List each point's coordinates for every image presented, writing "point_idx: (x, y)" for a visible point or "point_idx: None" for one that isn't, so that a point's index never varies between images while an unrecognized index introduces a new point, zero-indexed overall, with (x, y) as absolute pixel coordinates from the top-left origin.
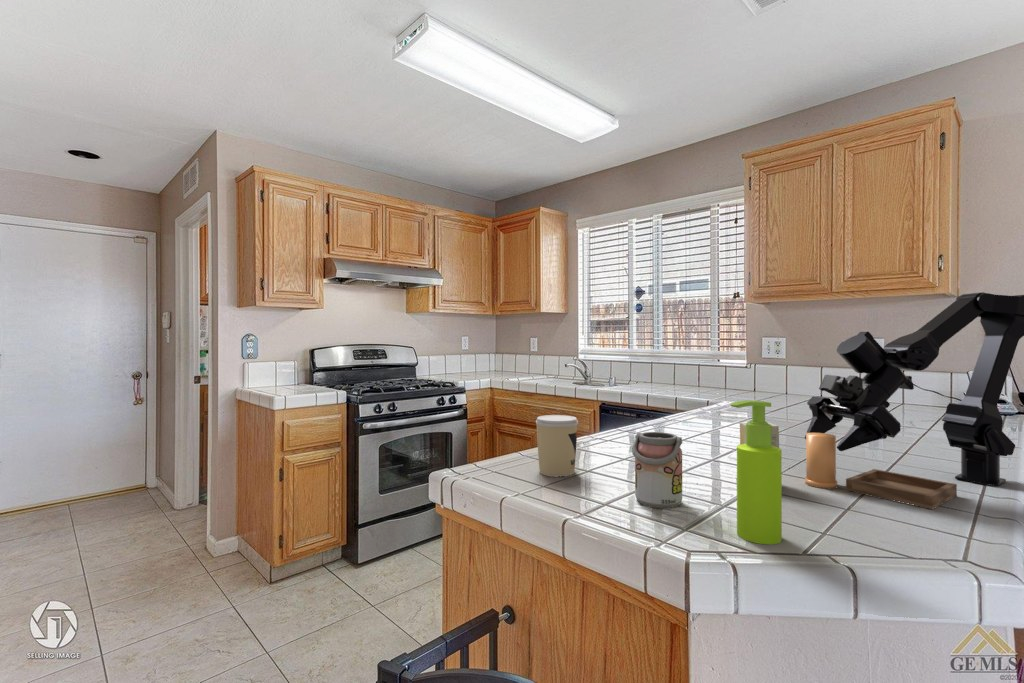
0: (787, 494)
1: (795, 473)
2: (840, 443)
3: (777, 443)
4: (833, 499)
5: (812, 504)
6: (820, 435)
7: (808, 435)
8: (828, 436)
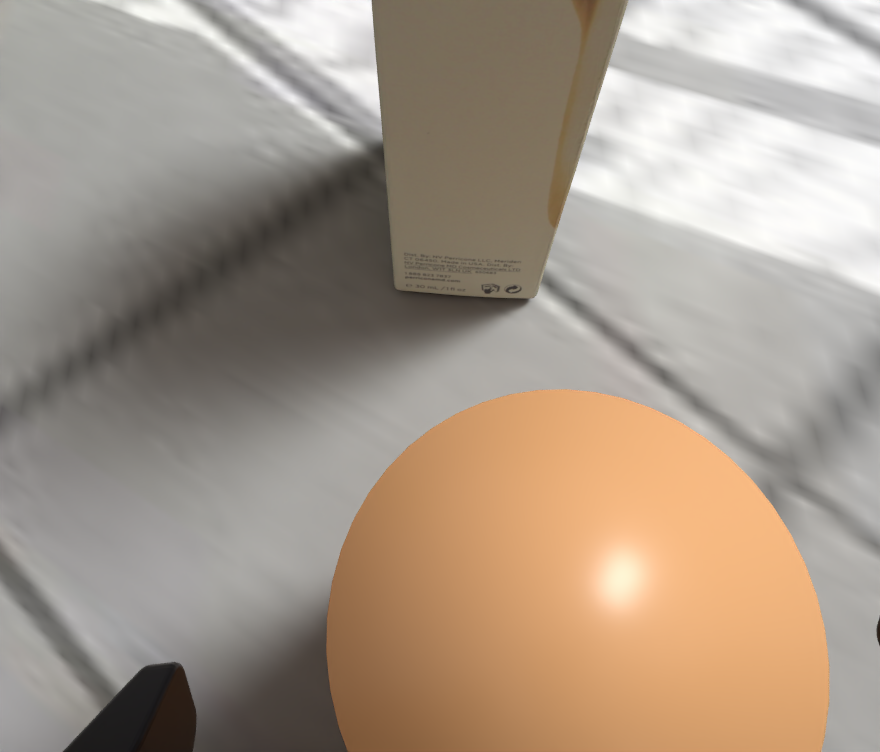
0: (257, 270)
1: (822, 607)
2: (116, 722)
3: (376, 19)
4: (126, 501)
5: (56, 312)
6: (521, 584)
7: (547, 393)
8: (426, 691)
